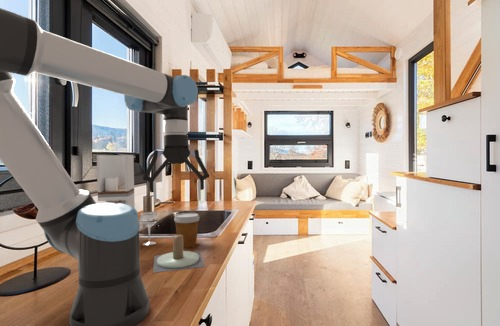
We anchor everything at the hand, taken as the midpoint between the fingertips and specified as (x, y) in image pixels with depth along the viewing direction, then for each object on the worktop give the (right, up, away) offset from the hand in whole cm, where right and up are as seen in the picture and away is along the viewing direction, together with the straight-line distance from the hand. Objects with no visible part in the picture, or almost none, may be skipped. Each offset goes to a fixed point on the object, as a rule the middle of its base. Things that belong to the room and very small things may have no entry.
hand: (177, 201), depth 91 cm
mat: (0, -20, 0) cm, 20 cm away
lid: (0, -19, 0) cm, 19 cm away
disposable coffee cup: (-1, -20, +17) cm, 26 cm away
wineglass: (-16, -20, +21) cm, 33 cm away
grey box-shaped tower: (-29, -20, +22) cm, 42 cm away
